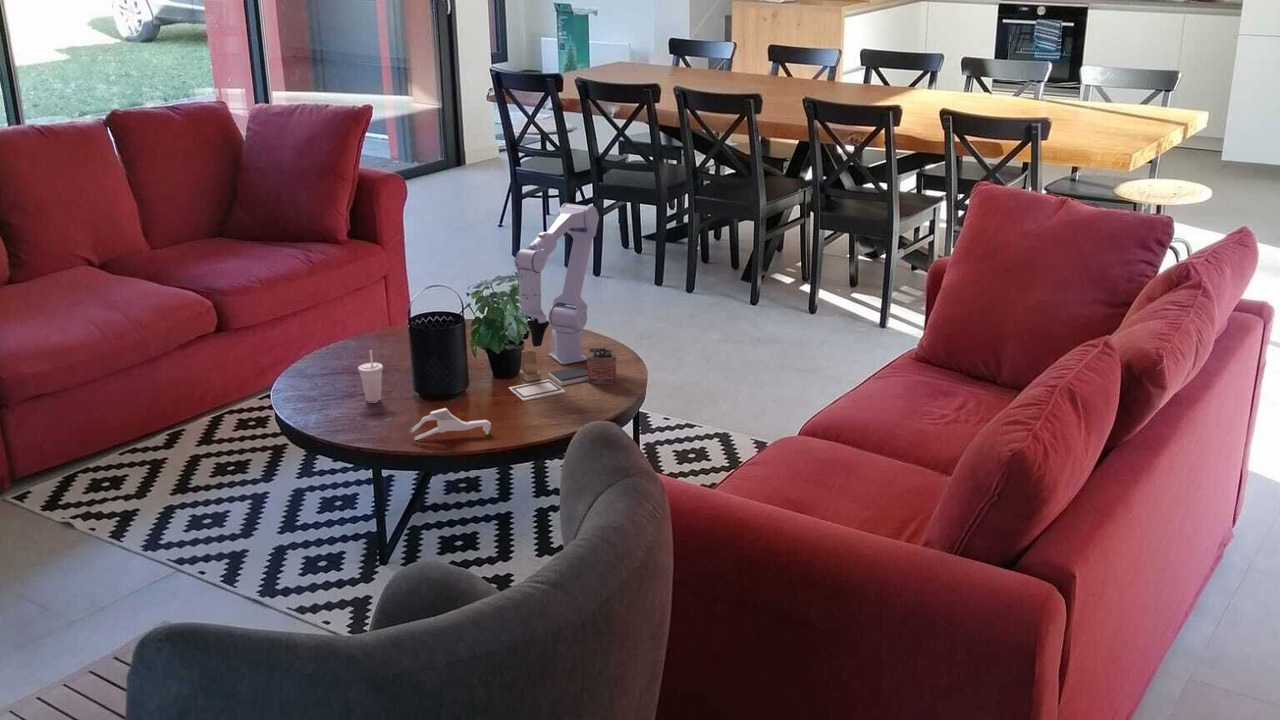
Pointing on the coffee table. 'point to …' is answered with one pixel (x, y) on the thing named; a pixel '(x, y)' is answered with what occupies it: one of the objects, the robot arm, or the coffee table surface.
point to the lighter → (601, 366)
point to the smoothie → (371, 379)
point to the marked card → (536, 390)
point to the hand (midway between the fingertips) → (530, 342)
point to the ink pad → (569, 375)
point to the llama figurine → (449, 423)
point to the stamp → (529, 367)
